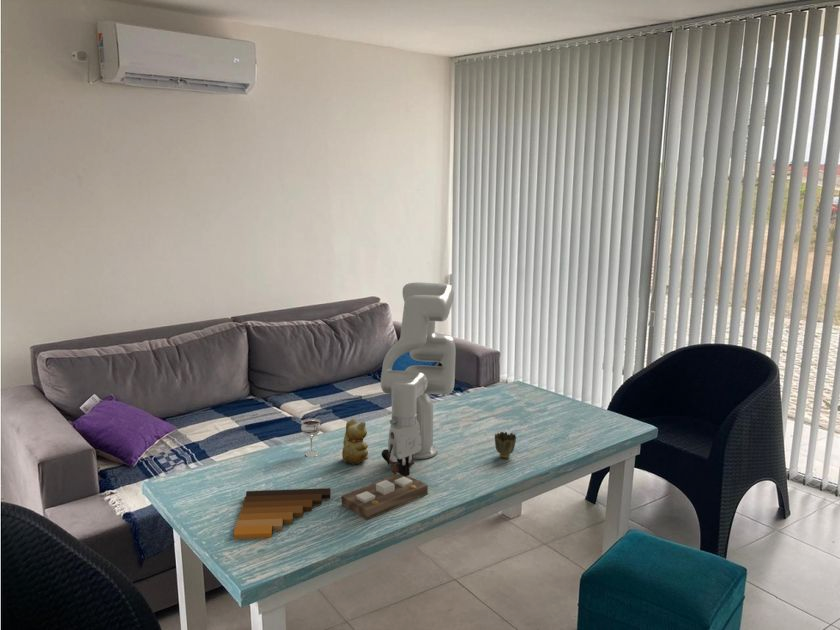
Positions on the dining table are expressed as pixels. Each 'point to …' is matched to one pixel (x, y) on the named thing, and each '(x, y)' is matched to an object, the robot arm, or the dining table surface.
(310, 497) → the pan flute
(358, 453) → the decorative figurine
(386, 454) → the pottery mug
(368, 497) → the button
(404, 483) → the button
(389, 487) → the button middle
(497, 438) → the dark tapered rough piece
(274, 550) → the dining table surface
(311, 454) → the wineglass
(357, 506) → the button board
